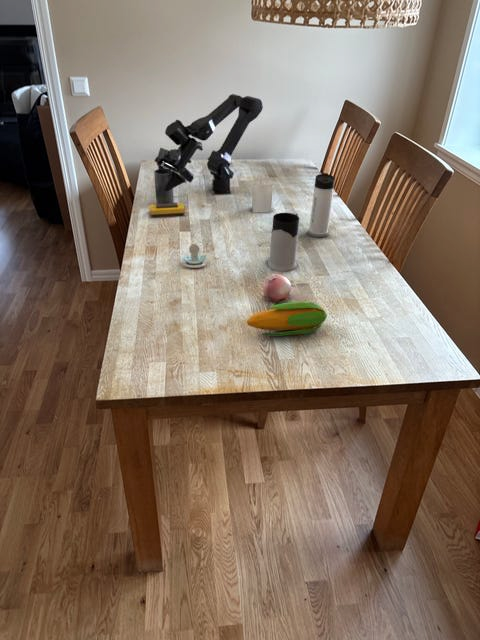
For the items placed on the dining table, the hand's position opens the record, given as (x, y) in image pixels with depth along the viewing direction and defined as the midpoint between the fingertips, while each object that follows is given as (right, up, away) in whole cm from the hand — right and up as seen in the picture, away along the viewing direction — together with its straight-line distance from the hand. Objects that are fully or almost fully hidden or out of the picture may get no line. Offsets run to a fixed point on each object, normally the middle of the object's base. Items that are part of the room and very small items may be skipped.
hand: (160, 188), depth 182 cm
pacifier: (+15, -32, -33) cm, 49 cm away
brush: (+3, -10, -2) cm, 11 cm away
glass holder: (+43, -30, -29) cm, 60 cm away
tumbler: (+1, -5, +4) cm, 7 cm away
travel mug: (+56, -19, -12) cm, 60 cm away
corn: (+40, -52, -60) cm, 89 cm away
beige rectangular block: (+37, -8, +3) cm, 38 cm away
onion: (+39, -43, -48) cm, 75 cm away
